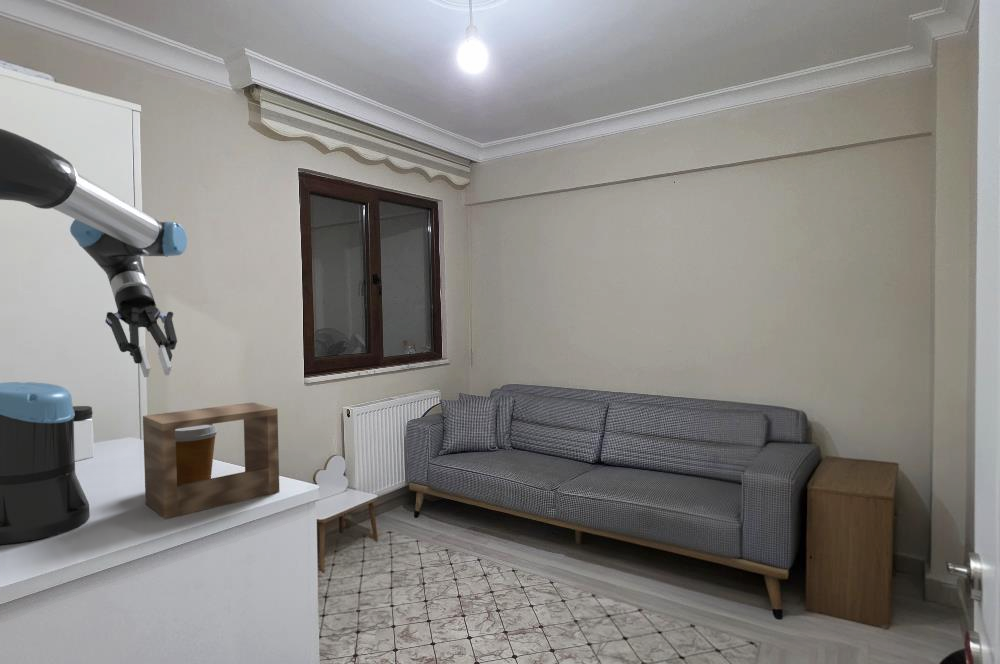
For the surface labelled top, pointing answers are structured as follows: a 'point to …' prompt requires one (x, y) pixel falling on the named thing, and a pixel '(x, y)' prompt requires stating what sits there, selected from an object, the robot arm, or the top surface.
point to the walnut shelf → (215, 491)
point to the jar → (83, 433)
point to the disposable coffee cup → (194, 453)
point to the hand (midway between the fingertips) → (157, 371)
